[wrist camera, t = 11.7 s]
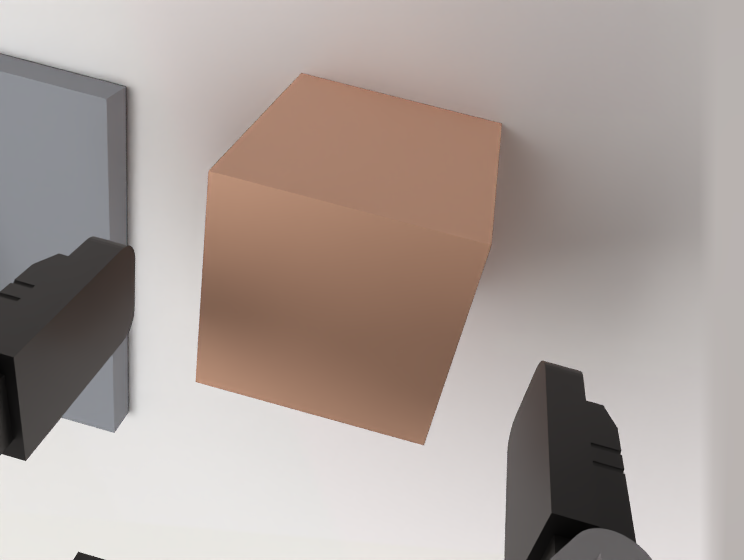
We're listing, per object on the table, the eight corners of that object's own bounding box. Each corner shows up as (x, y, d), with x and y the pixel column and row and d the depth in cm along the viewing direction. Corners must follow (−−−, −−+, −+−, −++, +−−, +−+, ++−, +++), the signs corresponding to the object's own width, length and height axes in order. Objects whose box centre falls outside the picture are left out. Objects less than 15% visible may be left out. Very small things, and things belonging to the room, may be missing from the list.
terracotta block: (301, 72, 17) (208, 170, 12) (501, 122, 17) (491, 244, 12) (279, 244, 20) (195, 381, 15) (449, 289, 19) (423, 445, 14)
